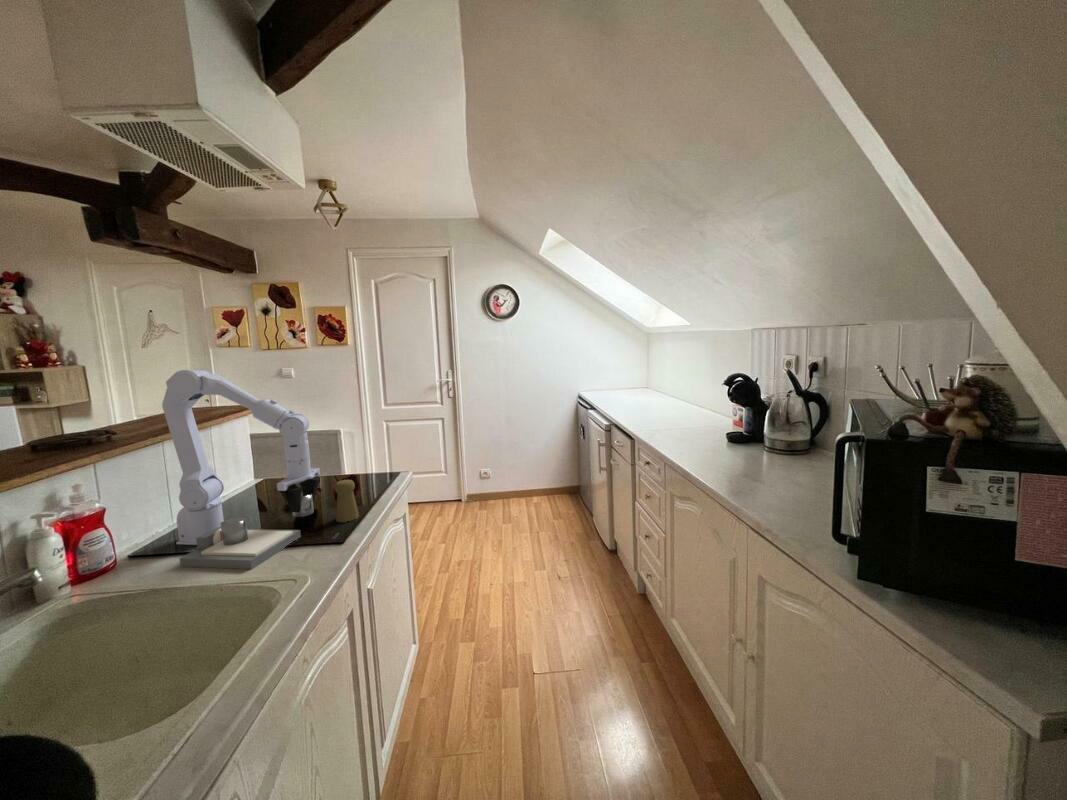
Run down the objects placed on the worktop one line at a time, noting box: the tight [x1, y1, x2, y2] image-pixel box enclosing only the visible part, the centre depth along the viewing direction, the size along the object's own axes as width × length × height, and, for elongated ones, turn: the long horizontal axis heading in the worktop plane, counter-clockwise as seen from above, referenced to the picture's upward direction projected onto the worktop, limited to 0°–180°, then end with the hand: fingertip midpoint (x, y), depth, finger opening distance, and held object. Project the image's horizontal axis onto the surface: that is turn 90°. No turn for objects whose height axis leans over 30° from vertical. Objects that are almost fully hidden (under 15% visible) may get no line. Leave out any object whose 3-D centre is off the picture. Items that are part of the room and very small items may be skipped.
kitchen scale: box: [179, 526, 302, 570], centre depth 102 cm, size 18×16×6 cm
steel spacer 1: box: [221, 516, 248, 545], centre depth 102 cm, size 5×5×5 cm
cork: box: [334, 479, 360, 523], centre depth 121 cm, size 6×6×11 cm
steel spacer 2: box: [292, 492, 315, 518], centre depth 116 cm, size 5×5×5 cm
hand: (302, 508), depth 116 cm, fingers closed on steel spacer 2, 5 cm apart
